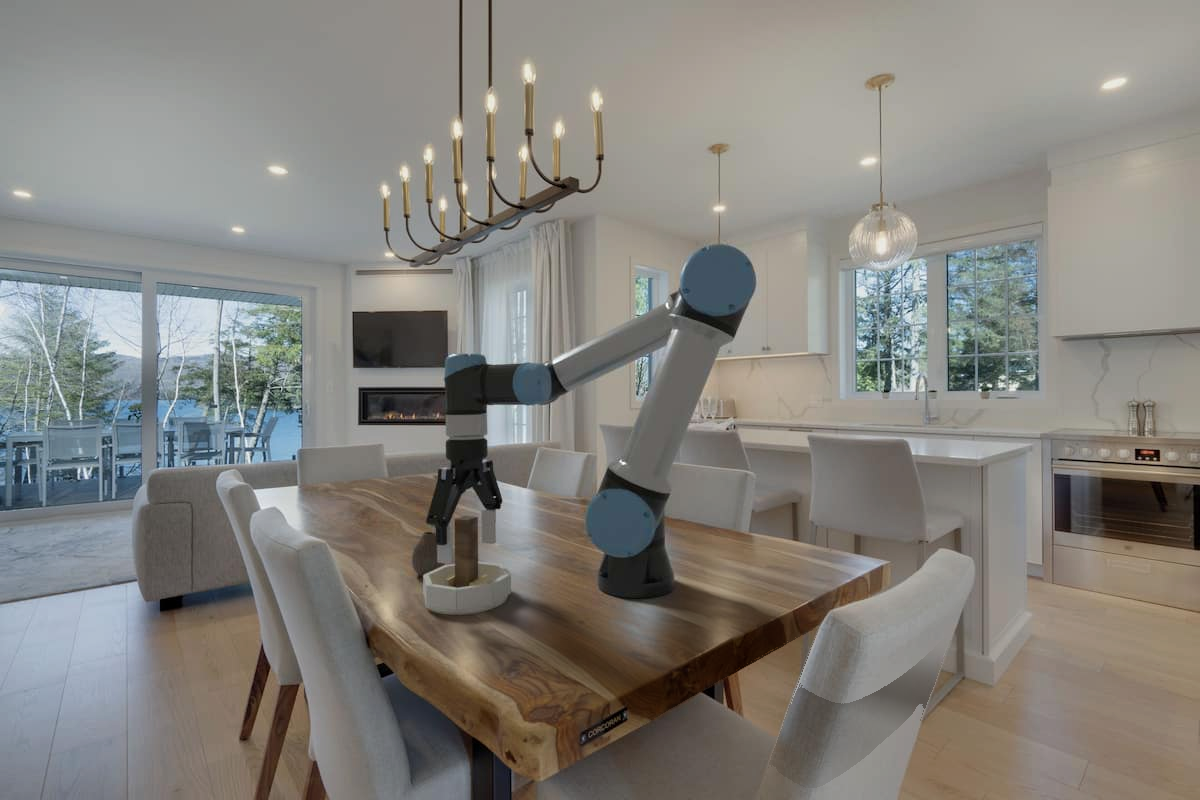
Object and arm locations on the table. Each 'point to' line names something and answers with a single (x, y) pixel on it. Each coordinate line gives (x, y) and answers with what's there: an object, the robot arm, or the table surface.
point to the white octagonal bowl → (466, 590)
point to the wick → (466, 550)
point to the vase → (425, 554)
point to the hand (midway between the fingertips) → (468, 552)
